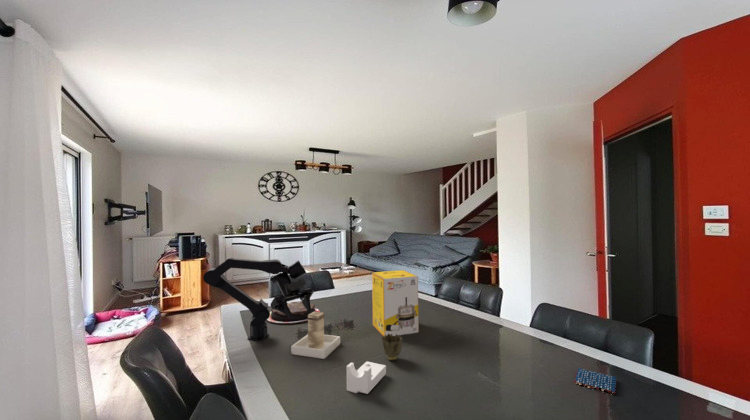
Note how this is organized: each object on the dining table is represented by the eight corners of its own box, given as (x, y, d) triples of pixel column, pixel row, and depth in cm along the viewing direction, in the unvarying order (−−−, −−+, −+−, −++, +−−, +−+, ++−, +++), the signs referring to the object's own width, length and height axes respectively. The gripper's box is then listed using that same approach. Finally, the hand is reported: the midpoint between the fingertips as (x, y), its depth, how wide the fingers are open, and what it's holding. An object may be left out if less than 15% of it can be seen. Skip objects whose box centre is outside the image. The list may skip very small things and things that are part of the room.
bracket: (367, 397, 92) (367, 371, 92) (346, 391, 96) (346, 366, 96) (386, 376, 104) (385, 353, 104) (366, 371, 107) (366, 349, 107)
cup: (404, 356, 118) (404, 334, 118) (399, 365, 111) (399, 342, 111) (385, 353, 120) (385, 332, 120) (379, 362, 113) (379, 339, 113)
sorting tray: (291, 354, 121) (291, 346, 121) (310, 339, 134) (309, 332, 134) (324, 358, 116) (324, 350, 116) (340, 343, 130) (340, 336, 130)
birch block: (308, 348, 124) (307, 314, 124) (314, 343, 128) (313, 311, 128) (318, 349, 122) (318, 316, 122) (324, 345, 127) (323, 312, 127)
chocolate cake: (279, 307, 183) (279, 296, 183) (326, 309, 179) (326, 297, 179) (254, 324, 155) (254, 311, 155) (309, 326, 151) (309, 313, 151)
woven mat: (576, 372, 105) (576, 366, 105) (616, 382, 99) (616, 376, 99) (572, 386, 97) (572, 379, 97) (616, 398, 91) (615, 391, 91)
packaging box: (404, 320, 156) (403, 270, 157) (418, 332, 141) (417, 276, 141) (372, 324, 151) (372, 272, 152) (384, 337, 136) (383, 279, 136)
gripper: (273, 277, 129) (290, 309, 122) (310, 269, 143) (327, 298, 136) (263, 293, 134) (279, 325, 127) (300, 285, 148) (316, 313, 141)
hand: (301, 314), depth 132 cm, fingers open, 9 cm apart
